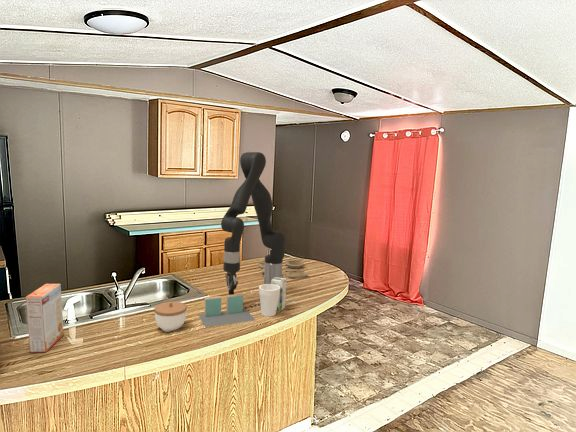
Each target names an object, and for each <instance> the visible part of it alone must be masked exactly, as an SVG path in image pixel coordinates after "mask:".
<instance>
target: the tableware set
mask: <svg viewBox="0 0 576 432" xmlns="http://www.w3.org/2000/svg"><path fill="white" fill-rule="evenodd" d="M303 261H304V259H285V260H284V262H285V264H286V265H287V266H288V267H289V269H285V270H284V271H285V276H286V277H288V278H290V279H291V278H293V279H303V278H306V277H309V274H308V273H307V272H305V271H306V270H305V269H304V270H303V269H301V266H304V264H305V263H304V262H303ZM257 265H258V267H259V268H261V273H262V274H264V268H265V261H258V264H257Z"/></svg>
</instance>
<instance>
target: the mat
mask: <svg viewBox="0 0 576 432" xmlns="http://www.w3.org/2000/svg"><path fill="white" fill-rule="evenodd" d="M197 315H198V317H199V319H200V322H202V324H203V327H204V328H212V327H218V326H224V325H231V324H238V323H247V322H253V321H256V319H255V318H254V317H253V315H252V314H251V313H250V312H249V311H248V310H247V308H243V312H239V313H231V314H227V312H226V310H222V311H221V315H216V316H208V317H206V316H205V315H204V313H200V314H199V313H198V314H197Z"/></svg>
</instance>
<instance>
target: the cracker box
mask: <svg viewBox="0 0 576 432" xmlns="http://www.w3.org/2000/svg"><path fill="white" fill-rule="evenodd" d="M61 285H62V284H61V283H45V284H43V285H42V286H40V287H39V288H37V289H35V290H34V291H32V292H31V293H30V294H27V295H26V296H25V303H26V304H25V306H26V307H25V308H26V317H27V318H26V319H27V328H28V329H27V331H28V332H27V333H28V343H29V352H30V353H47V352H48V351H49V350H50V349H51V348H52V347H53V346H54V345H55V344H56V343H57V342H58V341H59V340H60V339H61V338H62V337H63V336H64V335H65V332H64V319H63V316H64V315H63V303H62V299H63V298H62V286H61Z"/></svg>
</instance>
